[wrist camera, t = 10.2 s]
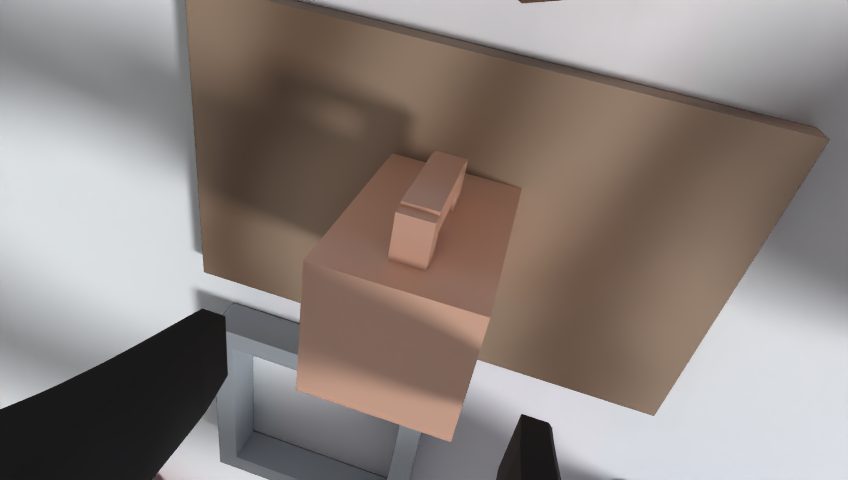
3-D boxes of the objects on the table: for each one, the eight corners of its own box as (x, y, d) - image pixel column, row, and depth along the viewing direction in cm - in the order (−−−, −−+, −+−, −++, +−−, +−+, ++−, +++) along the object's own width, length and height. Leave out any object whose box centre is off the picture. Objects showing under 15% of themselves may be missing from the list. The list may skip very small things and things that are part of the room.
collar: (439, 369, 25) (429, 398, 23) (404, 495, 30) (395, 525, 29) (233, 302, 26) (212, 326, 24) (237, 435, 32) (220, 461, 30)
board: (816, 128, 16) (829, 139, 15) (651, 397, 22) (653, 415, 21) (202, -23, 18) (184, -20, 17) (216, 260, 25) (204, 272, 24)
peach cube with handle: (489, 293, 20) (450, 442, 15) (376, 259, 21) (295, 389, 15) (534, 147, 17) (507, 265, 11) (398, 111, 18) (306, 206, 12)
